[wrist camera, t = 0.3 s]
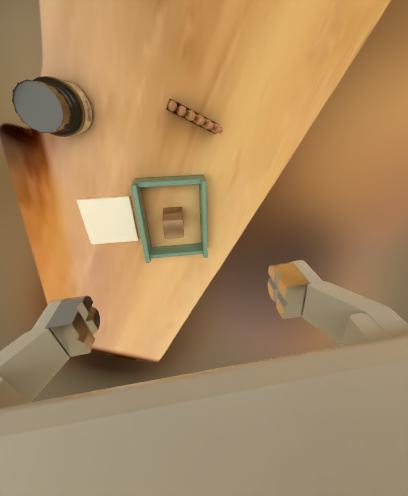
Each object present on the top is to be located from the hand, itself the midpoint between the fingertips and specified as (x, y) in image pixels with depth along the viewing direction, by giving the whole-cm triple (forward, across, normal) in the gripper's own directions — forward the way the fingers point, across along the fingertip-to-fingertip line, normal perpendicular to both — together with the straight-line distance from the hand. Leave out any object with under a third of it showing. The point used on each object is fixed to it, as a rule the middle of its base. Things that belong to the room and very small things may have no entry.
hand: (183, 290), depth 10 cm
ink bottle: (+47, +19, -10) cm, 51 cm away
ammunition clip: (+47, -5, -6) cm, 47 cm away
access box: (+47, +3, +16) cm, 49 cm away
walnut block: (+47, +3, +15) cm, 49 cm away
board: (+47, +19, +14) cm, 52 cm away
